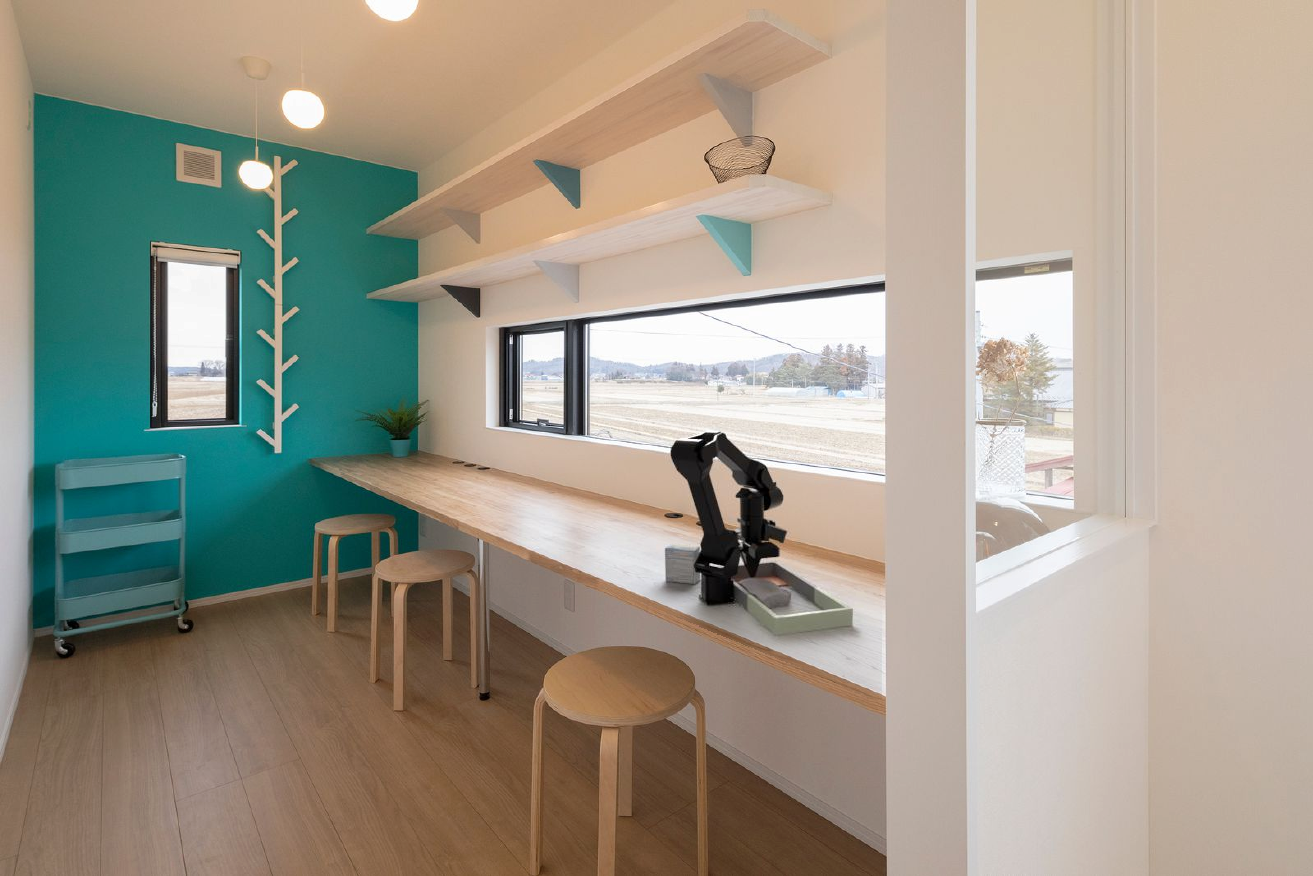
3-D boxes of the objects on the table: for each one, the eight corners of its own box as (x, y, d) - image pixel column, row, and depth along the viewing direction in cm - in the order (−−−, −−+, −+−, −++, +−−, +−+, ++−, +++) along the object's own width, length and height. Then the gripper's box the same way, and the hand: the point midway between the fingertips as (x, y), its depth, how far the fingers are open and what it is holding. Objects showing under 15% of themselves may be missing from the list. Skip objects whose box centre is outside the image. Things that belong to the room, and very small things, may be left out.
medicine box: (700, 579, 165) (700, 545, 164) (695, 585, 161) (694, 550, 160) (671, 576, 168) (670, 543, 167) (665, 581, 163) (664, 547, 163)
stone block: (768, 597, 156) (731, 594, 153) (772, 578, 156) (735, 574, 152) (796, 616, 145) (757, 613, 142) (800, 595, 145) (761, 592, 141)
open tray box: (775, 635, 129) (775, 618, 128) (712, 580, 163) (712, 567, 163) (852, 625, 133) (852, 608, 133) (775, 574, 168) (775, 560, 167)
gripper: (800, 520, 152) (800, 585, 154) (766, 504, 170) (766, 563, 172) (755, 523, 149) (756, 590, 151) (726, 508, 167) (726, 567, 169)
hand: (752, 577), depth 161 cm, fingers closed
